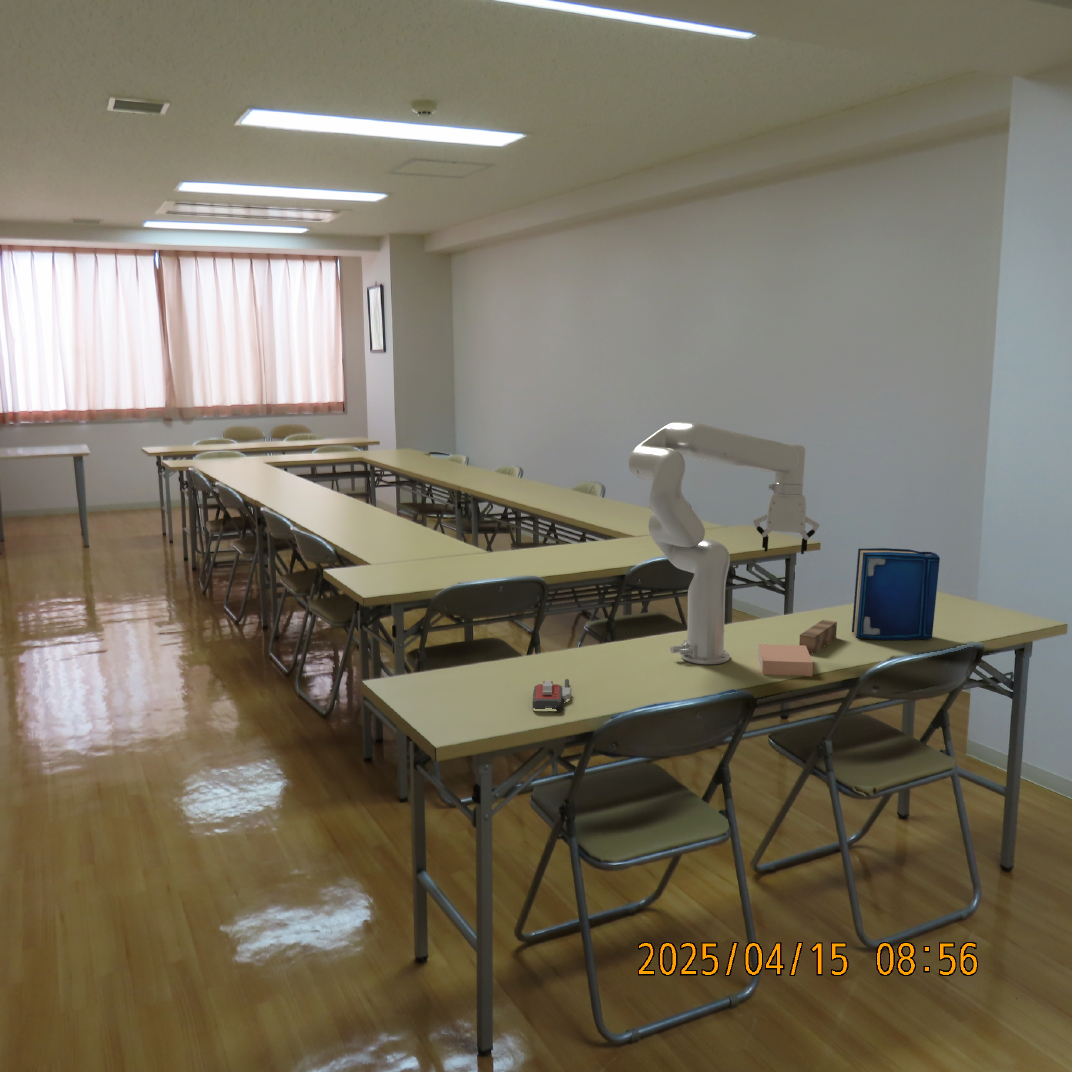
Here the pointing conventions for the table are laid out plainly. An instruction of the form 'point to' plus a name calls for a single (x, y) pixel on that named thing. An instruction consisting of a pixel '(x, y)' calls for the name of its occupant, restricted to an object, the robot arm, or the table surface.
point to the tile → (785, 660)
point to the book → (895, 594)
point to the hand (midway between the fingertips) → (784, 552)
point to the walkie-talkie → (551, 695)
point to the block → (818, 635)
